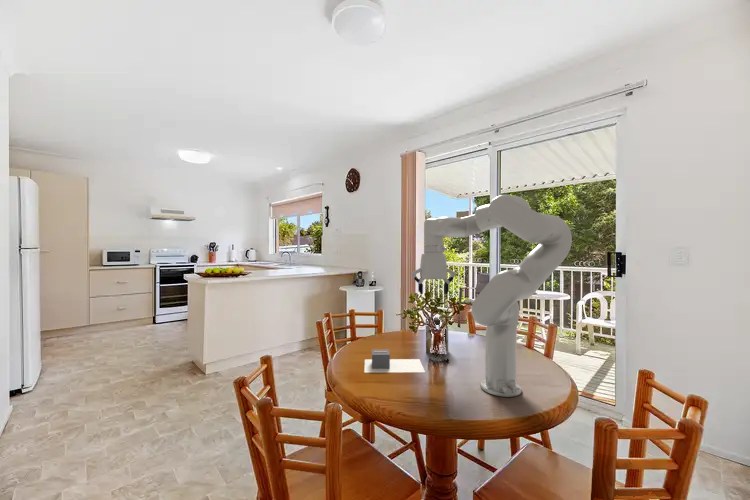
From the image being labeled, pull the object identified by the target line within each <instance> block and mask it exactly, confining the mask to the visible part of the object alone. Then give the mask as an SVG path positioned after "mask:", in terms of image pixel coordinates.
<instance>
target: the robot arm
mask: <svg viewBox="0 0 750 500" xmlns="http://www.w3.org/2000/svg"><path fill="white" fill-rule="evenodd" d="M498 228H504V229H506V230H508V232H511V233H512V234H513V235H515V236H517V237H518V238H519V239H521V240H523V241H526V243H527V242H528V243H532V244H538V245H536V246H535V248H533V249H532V250H531V251H530V252H529V253H528V254H527V255H526V256H525V258H524V259H523V260H522V261H521V262H520V263H519V264H518V265H517V266H516V267H515V268H513V269H512V268H511V269H505V270H502V271H500V272H498V273H496V274H495V275H494V276H493V277H492V278H490V280H489V281H488V283H486V285H485V286H484V288H483V289H482V290H481V291H480V292H479V293H478V295H477V296H476V298H475V299H474V300H473V302H472V304H471V308H470V309H471V315H472V318H473V320H474V321H475V322H476V323H477V324H479V325H481V326H484V327H486V329H485V356H484V357H485V359H484V360H485V363H484V364H485V369H484V370H485V378H483V380H480V388H481V389H482V390H483V391H484V392H486V393H487V394H490V395H494V396H497V397H504V398H509V397H513V398H514V397H516V396H519V395H520V394H522V387H521V385H520V384H518V382H517V341H518V340H517V337H518V335H517V333H518V323H519V318H520V306H519V301H523V300H527V299H529V298H531V297H532V296H534V294H535V293H536V292H537V291H538V289H539V288H540V287H541V286H542V285H543V284H544V283H546V280H548V279H549V277H550V276H551V275H552V274H553V273H554V272H555V271H556V269H557V268H558V267H559V266H560V265H561V264H562V263H563V262H564V260H565V259H566V258H567V256H568V254H569V252H570V251H571V247H572V241H573V237H572V232H571V229H570V227H569V225H568V223H566V221H565V220H564V219H562V218H561V217H560V216H557V215H554V214H548V213H547V214H546V213H540V212H537V211H536V210H534V209H532V208H531V206H530V204H529V202H528V201H527V200H526V199H525V198H523V197H521V196H515V195H511V194H499V195H497V196H496V197H494V198H493V199H492V200H491V201H490V203H488V204H484V205H480V206H479V207H477V208H476V210H475V211H474V214H471V215H468V216H464V217H454V216H440V217H438V218H426V219H425V220H424V222H423V253H421V257H420V265H419V266H420V268H418V269H417V268H416V270H414V271H412V272H411V276H412V278H413V279H414V281H415V282H416V283H418V284H417V285H418V289H417V290H418V292H419V294H420V295H423V293H424V284H423V282H424V281H425V280H443V281H444V283H443V293H444V294H445V295H448V293H449V292H450V283H452V281H453V280H454V279H455V276H456V275H457V273H456V272H455V271H454V270H451V269H450V268H448V266H447V265H448V264H447V257H446V254H445V253H444V252H446V251H448V247H446V246H444V238H465V237H469V236H474V235H478V234H481V233H483V232H486V231H489V230H493V229H494V230H495V229H498ZM448 273H449V274H450V276H449V277H448ZM417 274H419V276H420V278H418V276H417ZM447 277H448V278H447Z"/></svg>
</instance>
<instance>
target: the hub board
mask: <svg viewBox="0 0 750 500" xmlns="http://www.w3.org/2000/svg"><path fill="white" fill-rule="evenodd" d="M363 373H366V374H367V373H369V374H370V373H371V374H372V373H373V374H374V373H377V374H379V373H397V374H398V373H426V370H425V368H424V366H423V364H422V361H421V359H419V358H416V359H415V358H409V359H405V358H403V359H402V358H400V359H399V358H397V359H396V358H390V369H372V358H371V359H364V371H363Z"/></svg>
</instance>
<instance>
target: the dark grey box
mask: <svg viewBox="0 0 750 500" xmlns="http://www.w3.org/2000/svg"><path fill="white" fill-rule="evenodd" d="M371 359H372V369H390V359H391V355H390V349H388V348H386V349H384V348H383V349H381V348H379V349H377V348H375V349H373V348H372V349H371Z"/></svg>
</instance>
